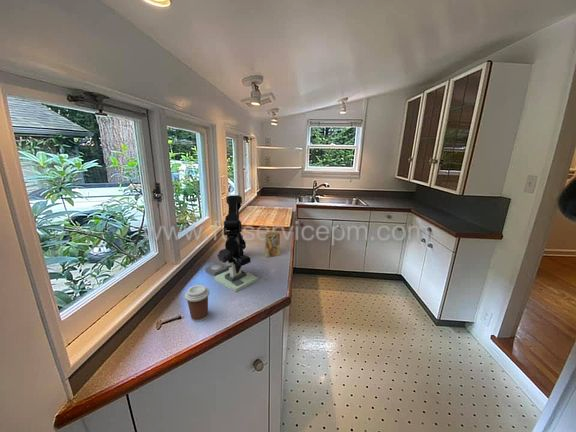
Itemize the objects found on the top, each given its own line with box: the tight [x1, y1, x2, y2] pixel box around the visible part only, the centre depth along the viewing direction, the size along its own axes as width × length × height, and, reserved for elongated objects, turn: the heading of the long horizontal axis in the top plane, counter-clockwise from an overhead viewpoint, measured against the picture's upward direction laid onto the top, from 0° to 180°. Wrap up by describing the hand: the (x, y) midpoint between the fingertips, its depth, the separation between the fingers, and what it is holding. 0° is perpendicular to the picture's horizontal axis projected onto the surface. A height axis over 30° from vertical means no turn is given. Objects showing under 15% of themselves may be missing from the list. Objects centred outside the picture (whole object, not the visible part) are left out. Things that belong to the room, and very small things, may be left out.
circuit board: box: [213, 269, 259, 292], centre depth 123 cm, size 18×14×4 cm
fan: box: [204, 261, 229, 277], centre depth 132 cm, size 9×9×3 cm
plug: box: [225, 261, 242, 278], centre depth 121 cm, size 9×3×7 cm, turn 139°
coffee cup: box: [184, 284, 210, 322], centre depth 95 cm, size 9×9×12 cm
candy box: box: [264, 230, 281, 258], centre depth 151 cm, size 9×4×15 cm, turn 110°
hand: (235, 271), depth 123 cm, fingers closed on plug, 3 cm apart
